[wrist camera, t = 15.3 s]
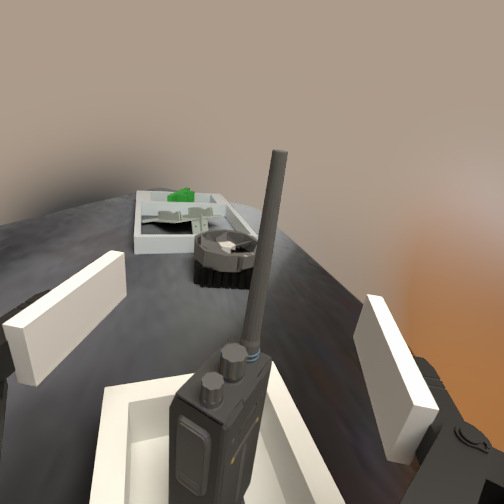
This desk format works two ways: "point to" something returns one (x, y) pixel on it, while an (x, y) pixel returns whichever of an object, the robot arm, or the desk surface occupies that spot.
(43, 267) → the desk surface
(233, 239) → the cpu cooler
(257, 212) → the desk surface
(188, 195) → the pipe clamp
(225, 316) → the desk surface
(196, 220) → the metal bracket
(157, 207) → the desk organiser
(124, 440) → the charging cradle
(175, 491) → the walkie-talkie
